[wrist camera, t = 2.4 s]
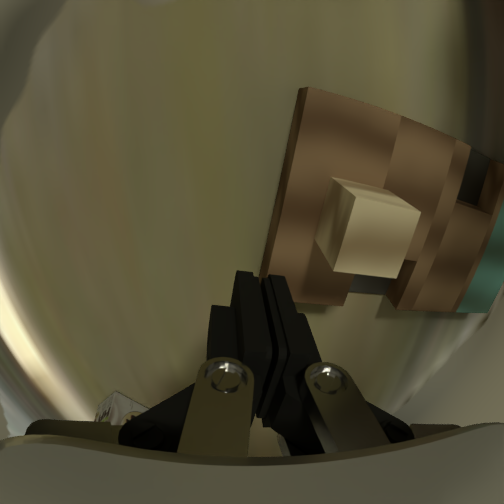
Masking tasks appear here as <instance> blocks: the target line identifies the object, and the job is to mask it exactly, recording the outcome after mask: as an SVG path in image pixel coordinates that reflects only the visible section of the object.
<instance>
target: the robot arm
mask: <svg viewBox="0 0 504 504" xmlns="http://www.w3.org/2000/svg"><path fill="white" fill-rule="evenodd" d="M255 413H256V417H257V418H262V424H263V427H271V428H272V429H273V430H274V431H276V432H277V433H278V435H277V438H278V443H279V446H280V449H281V452H282V454H283V457H248V447H249V436H250V428H251V425H252V422H253V419H254V416H255ZM0 504H504V423H499V422H496V423H495V422H494V423H481V424H474V425H469V426H466V427H460V426H458V425H454V424H411V425H410V426H408V425H407V424H406V423H404V422H403V421H401V420H400V419H398V418H396V417H394V416H392V415H390V414H389V413H387V412H385V411H383V410H381V409H380V408H378V407H376V406H374V405H373V404H371V403H369V402H367V401H366V400H365V399H364V397H363V396H362V394H361V392H360V391H359V389H358V387H357V386H356V384H355V382H354V381H353V379H352V377H351V376H350V375H349V373H348V372H347V371H346V370H344V369H343V368H342V367H340V366H338V365H336V364H333V363H329V362H322V360H321V357H320V355H319V352H318V349H317V346H316V343H315V341H314V338H313V335H312V332H311V329H310V327H309V324H308V321H307V318H306V316H305V314H303V313H297V310H296V307H295V304H294V301H293V298H292V295H291V293H290V290H289V287H288V284H287V281H286V278H285V276H281V275H272V274H269V275H268V277H267V278H262V280H261V284H260V282H259V278H258V277H254V275H253V272H246V271H238V270H237V271H236V276H235V281H234V287H233V293H232V298H231V304H230V307H228V306H218V305H212V306H211V312H210V320H209V328H208V339H207V361H206V362H205V363H204V364H202V365H201V367H200V369H199V371H198V375H197V379H196V382H195V383H194V384H192V385H190V386H189V387H187V388H185V389H184V390H182V391H180V392H178V393H177V394H175V395H173V396H172V397H170V398H168V399H166V400H165V401H163V402H161V403H159V404H158V405H156V406H154V407H152V408H150V409H149V410H147V411H145V412H143V413H141V414H140V415H138V416H136V417H134V418H132V419H130V420H129V421H128V422H126V423H125V424H124V425H111V422H94V421H70V420H55V419H39V420H37V421H35V422H32V423H31V424H30V425H29V427H28V428H27V429H26V432H25V435H23V436H15V437H10V438H6V439H3V440H0Z"/></svg>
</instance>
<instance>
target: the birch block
mask: <svg viewBox="0 0 504 504" xmlns="http://www.w3.org/2000/svg"><path fill="white" fill-rule="evenodd" d="M420 214H421V212H420V211H418V210H417V209H416V208H414V207H413V206H411V205H410V204H408V203H407V202H405V201H404V200H402V199H401V198H399V197H398V196H396V195H395V194H393V193H392V192H390V191H389V190H385V189H382V188H378V187H374V186H369V185H365V184H361V183H357V182H353V181H348V180H344V179H339V178H335V177H331V178H330V182H329V185H328V189H327V193H326V197H325V201H324V205H323V209H322V212H321V216H320V220H319V224H318V227H317V231H316V235H315V238H314V239H315V241H316V242H317V244H318V246H319V247H320V249H321V251H322V253H323V254H324V256H325V258H326V259H327V261H328V263H329V265H330V266H331V268H332V270H333V271H336V272H344V273H353V274H361V275H370V276H378V277H387V278H397V276H398V273H399V271H400V268H401V266H402V263H403V261H404V258H405V256H406V253H407V251H408V248H409V245H410V243H411V240H412V237H413V234H414V232H415V229H416V226H417V223H418V220H419V217H420Z"/></svg>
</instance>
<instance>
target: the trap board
mask: <svg viewBox="0 0 504 504" xmlns="http://www.w3.org/2000/svg"><path fill="white" fill-rule="evenodd" d="M331 177H335V178H339V179H344V180H348V181H353V182H357V183H361V184H365V185H369V186H374V187H378V188H382V189H385V190H389V191H390V192H392V193H393V194H395V195H396V196H398V197H399V198H401V199H402V200H404V201H405V202H407V203H408V204H410V205H411V206H413V207H414V208H416V209H417V210H418V211H420V212H421V214H420V217H419V220H418V223H417V226H416V229H415V232H414V234H413V237H412V240H411V243H410V245H409V248H408V251H407V253H406V256H405V258H404V261H403V263H402V266H401V268H400V271H399V273H398V276H397V278H387V277H378V276H370V275H361V274H353V273H344V272H336V271H333V270H332V268H331V266H330V265H329V263H328V261H327V259H326V258H325V256H324V254H323V253H322V251H321V249H320V247H319V246H318V244H317V242H316V241H315V239H314V238H315V235H316V231H317V227H318V224H319V220H320V216H321V212H322V209H323V205H324V201H325V197H326V193H327V189H328V185H329V182H330V178H331ZM269 274H272V275H281V276H285V278H286V281H287V284H288V287H289V290H290V293H291V295H292V298H293V301H294V302H299V303H310V304H322V305H334V306H343V305H344V302H345V300H346V297H347V294H348V292H349V291H352V292H363V293H374V294H385V295H386V296H387V297H388V299H389V300H390V302H391V303H392V304H393V306H394V307H395V309H396V310H412V311H434V312H463V313H488V311H489V309H490V307H491V305H492V303H493V301H494V299H495V298H496V296H497V294H498V292H499V290H500V288H501V286H502V283H503V281H504V164H502V163H499V162H497V161H494V160H491V159H489V158H487V157H485V156H484V155H482V154H480V153H478V152H476V151H474V150H472V149H471V146H470V145H468V144H466V143H464V142H462V141H459V140H457V139H455V138H453V137H451V136H449V135H447V134H444V133H442V132H440V131H438V130H435V129H433V128H431V127H428V126H426V125H424V124H421V123H419V122H416V121H414V120H411V119H409V118H406V117H404V116H401V115H398V114H396V113H393V112H390V111H387V110H384V109H382V108H379V107H376V106H373V105H370V104H367V103H364V102H361V101H357V100H354V99H351V98H348V97H344V96H341V95H337V94H334V93H330V92H327V91H323V90H319V89H315V88H311V87H305V88H299V91H298V96H297V101H296V106H295V111H294V116H293V121H292V125H291V130H290V135H289V140H288V145H287V149H286V154H285V159H284V164H283V168H282V173H281V178H280V183H279V187H278V192H277V197H276V201H275V206H274V211H273V215H272V220H271V225H270V229H269V234H268V238H267V243H266V247H265V252H264V257H263V261H262V266H261V270H260V275H259V282H260V284H261V280H262V278H267V277H268V275H269Z"/></svg>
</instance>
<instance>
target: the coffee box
mask: <svg viewBox="0 0 504 504" xmlns="http://www.w3.org/2000/svg"><path fill="white" fill-rule="evenodd" d="M147 410H149V409H148V408H146V407H144V406H142V405H140V404H138V403H137V402H135V401H133V400H131V399H129V398H127V397H125V396H124V395H122V394H120V393H118V392H114V393H113V394H112V395H111V396H109V397H108V398H107V399H106V400H104V401H103V402H102V403H101V404H100V405H99V406H98V409H97V413H96V417H95V421H94V422H111V425H124V424H125V423H126V422H128V421H129V420H130V419H132V418H134V417H136V416H138V415H140V414H141V413H143V412H145V411H147Z"/></svg>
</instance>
